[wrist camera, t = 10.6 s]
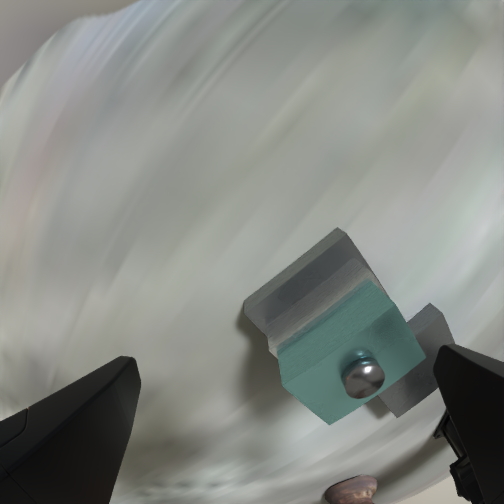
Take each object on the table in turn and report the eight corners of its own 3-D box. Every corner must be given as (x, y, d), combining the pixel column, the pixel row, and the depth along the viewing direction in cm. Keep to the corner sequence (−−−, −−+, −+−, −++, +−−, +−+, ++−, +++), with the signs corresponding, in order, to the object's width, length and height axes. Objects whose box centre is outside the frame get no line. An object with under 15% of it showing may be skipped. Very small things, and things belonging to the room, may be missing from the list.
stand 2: (453, 354, 22) (463, 365, 20) (390, 405, 24) (397, 418, 22) (429, 302, 21) (442, 313, 19) (355, 363, 22) (362, 377, 20)
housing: (309, 369, 20) (330, 440, 13) (266, 324, 19) (274, 397, 12) (389, 309, 19) (439, 364, 12) (353, 256, 17) (405, 302, 11)
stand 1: (391, 307, 21) (402, 319, 19) (309, 368, 22) (314, 383, 20) (337, 227, 19) (346, 233, 17) (244, 300, 20) (244, 313, 18)
